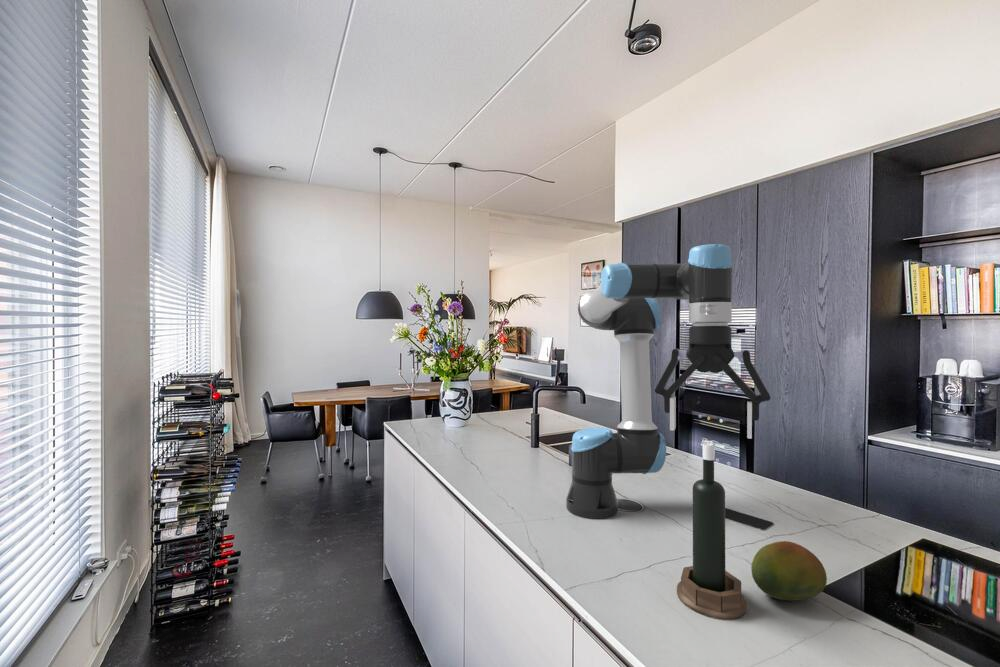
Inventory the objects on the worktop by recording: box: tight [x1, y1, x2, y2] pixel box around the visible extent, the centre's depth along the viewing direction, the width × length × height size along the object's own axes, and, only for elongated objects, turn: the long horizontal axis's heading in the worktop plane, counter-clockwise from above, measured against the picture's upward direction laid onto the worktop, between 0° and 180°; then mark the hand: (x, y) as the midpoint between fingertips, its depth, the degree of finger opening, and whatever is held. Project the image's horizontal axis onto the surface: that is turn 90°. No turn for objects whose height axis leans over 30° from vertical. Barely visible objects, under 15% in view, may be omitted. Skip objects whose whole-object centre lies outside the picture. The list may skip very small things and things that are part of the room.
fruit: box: [750, 540, 828, 601], centre depth 87 cm, size 12×13×10 cm
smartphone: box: [725, 507, 775, 532], centre depth 124 cm, size 7×1×15 cm
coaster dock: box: [676, 565, 748, 620], centre depth 86 cm, size 12×12×4 cm
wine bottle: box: [692, 440, 726, 592], centre depth 86 cm, size 6×6×30 cm
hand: (709, 433), depth 87 cm, fingers open, 13 cm apart
